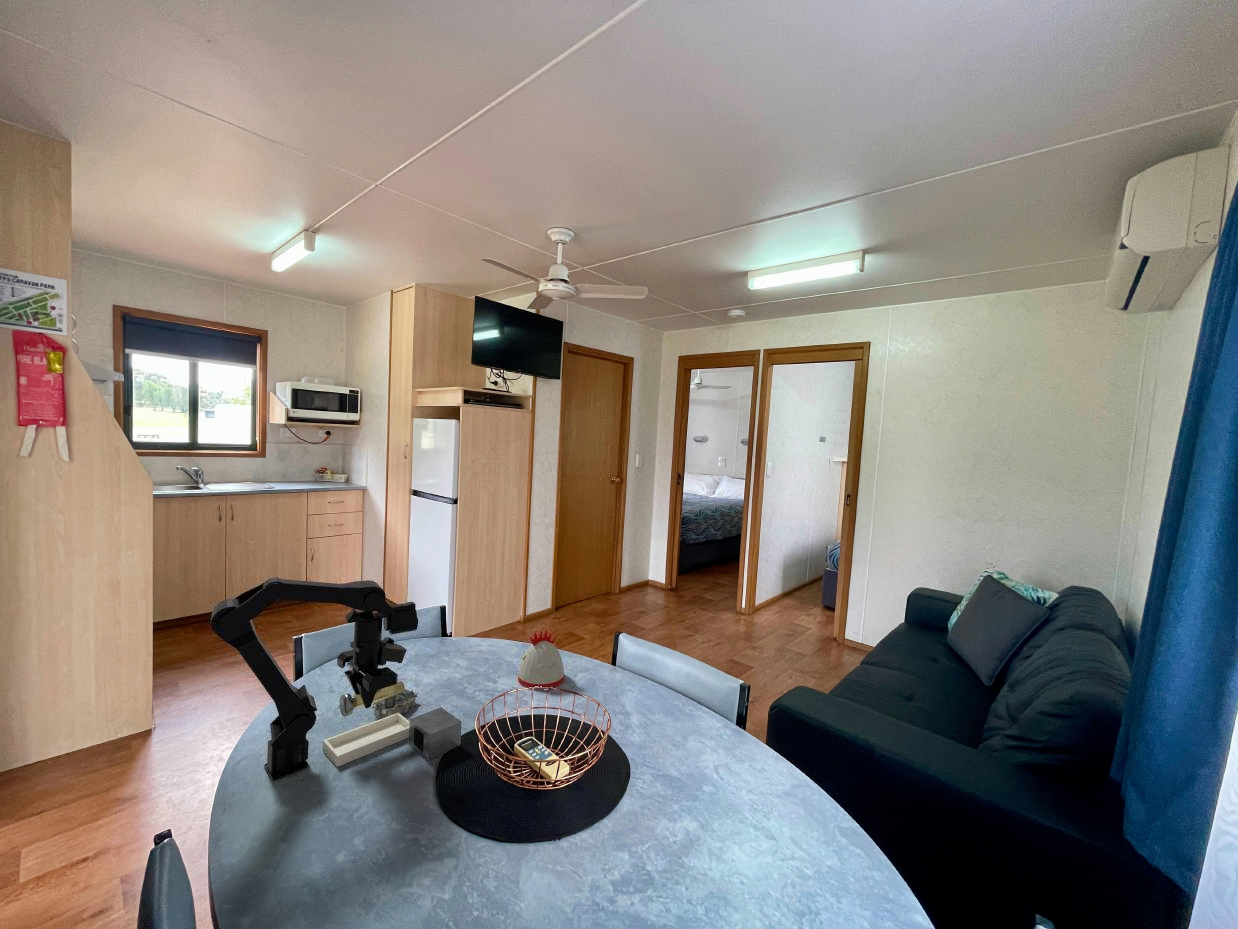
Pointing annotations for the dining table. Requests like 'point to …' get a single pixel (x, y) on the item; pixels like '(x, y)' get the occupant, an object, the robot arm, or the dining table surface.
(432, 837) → the dining table surface
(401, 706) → the egg carton
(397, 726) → the tray
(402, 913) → the dining table surface
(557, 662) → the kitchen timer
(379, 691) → the pin
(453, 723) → the block
